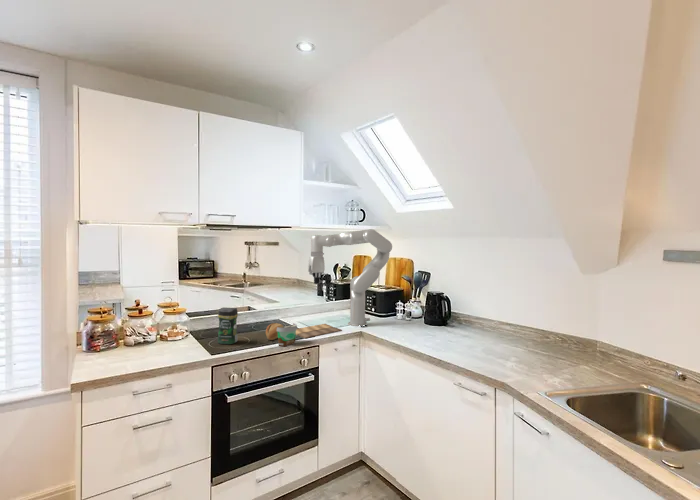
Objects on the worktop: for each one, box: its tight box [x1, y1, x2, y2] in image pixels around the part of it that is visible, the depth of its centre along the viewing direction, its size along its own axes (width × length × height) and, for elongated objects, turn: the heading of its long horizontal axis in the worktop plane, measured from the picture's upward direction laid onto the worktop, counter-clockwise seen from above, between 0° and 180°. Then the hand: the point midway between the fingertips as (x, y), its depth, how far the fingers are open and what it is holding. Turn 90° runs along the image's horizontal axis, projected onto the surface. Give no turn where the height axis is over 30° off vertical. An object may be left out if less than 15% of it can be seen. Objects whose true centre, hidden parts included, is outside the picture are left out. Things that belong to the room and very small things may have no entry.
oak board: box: [295, 323, 333, 336], centre depth 214 cm, size 26×8×2 cm, turn 131°
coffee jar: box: [217, 307, 239, 345], centre depth 189 cm, size 10×8×19 cm
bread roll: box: [265, 322, 285, 341], centre depth 199 cm, size 10×15×8 cm, turn 171°
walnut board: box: [297, 326, 343, 339], centre depth 208 cm, size 26×8×2 cm, turn 131°
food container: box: [277, 322, 298, 348], centre depth 186 cm, size 12×6×10 cm, turn 143°
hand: (316, 283), depth 227 cm, fingers closed
